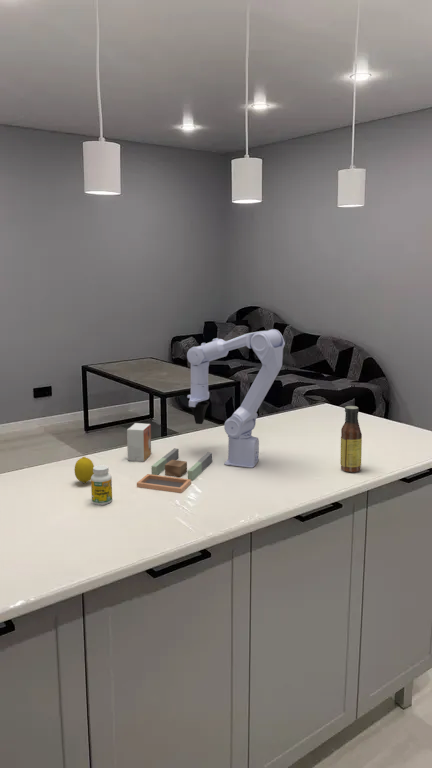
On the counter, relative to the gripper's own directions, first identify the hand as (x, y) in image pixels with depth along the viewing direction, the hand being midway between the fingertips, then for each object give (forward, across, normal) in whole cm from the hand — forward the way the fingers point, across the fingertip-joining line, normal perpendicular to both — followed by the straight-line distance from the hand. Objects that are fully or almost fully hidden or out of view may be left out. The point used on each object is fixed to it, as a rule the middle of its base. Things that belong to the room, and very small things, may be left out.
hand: (199, 423), depth 198 cm
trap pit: (+10, +30, 0) cm, 32 cm away
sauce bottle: (+10, -1, +49) cm, 50 cm away
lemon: (+11, +36, -22) cm, 43 cm away
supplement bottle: (+11, +46, -11) cm, 48 cm away
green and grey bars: (+10, +15, 0) cm, 18 cm away
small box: (+11, +10, -17) cm, 22 cm away
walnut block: (+11, +20, 0) cm, 23 cm away
